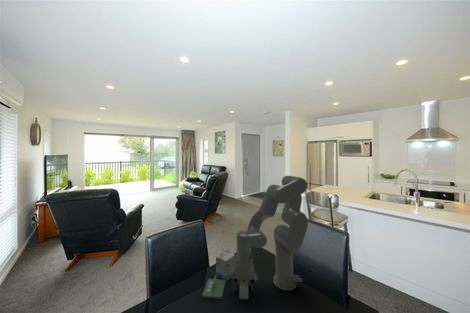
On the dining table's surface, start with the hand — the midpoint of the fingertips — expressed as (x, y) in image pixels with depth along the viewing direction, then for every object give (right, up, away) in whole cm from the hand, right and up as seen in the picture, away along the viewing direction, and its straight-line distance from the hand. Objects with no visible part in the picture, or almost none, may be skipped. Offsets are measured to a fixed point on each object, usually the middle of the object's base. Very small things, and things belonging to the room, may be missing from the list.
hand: (244, 290), depth 89 cm
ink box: (-11, -1, +13) cm, 17 cm away
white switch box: (0, -1, 0) cm, 1 cm away
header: (-16, -1, +2) cm, 16 cm away
